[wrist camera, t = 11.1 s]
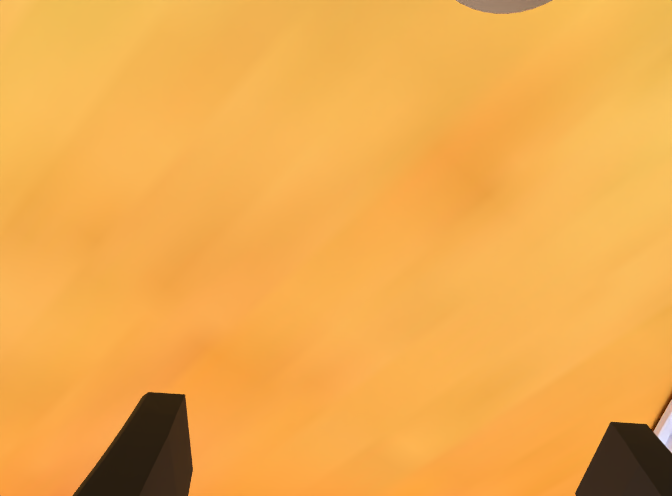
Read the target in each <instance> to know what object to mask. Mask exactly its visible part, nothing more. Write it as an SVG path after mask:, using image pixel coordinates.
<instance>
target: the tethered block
mask: <svg viewBox="0 0 672 496" xmlns="http://www.w3.org/2000/svg"><path fill="white" fill-rule="evenodd" d="M456 1H458V2H459V3H461V4H463V5H465V6H468V7H470V8H472V9H475V10H479V11H482V12H488V13H495V14H509V13H516V12H522V11H526V10H530V9H534V8H536V7H539V6H541V5H544V4H546V3H548V2H550V1H552V0H456Z"/></svg>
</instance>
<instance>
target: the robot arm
mask: <svg viewBox="0 0 672 496" xmlns="http://www.w3.org/2000/svg"><path fill="white" fill-rule="evenodd" d="M192 471H193V467H192V457H191V447H190V438H189V428H188V419H187V409H186V399H185V395H184V394H168V393H152V392H148V393H147V394H145V395H144V396H142V398H141V400H140V401H139V403H138V404H137V406H136V408H135V409H134V411H133V412H132V414H131V415H130V417H129V418H128V420H127V421H126V423H125V424H124V426H123V427H122V429H121V430H120V432H119V433H118V435H117V436H116V437H115V439H114V440H113V442H112V443H111V445H110V446H109V447H108V449H107V450H106V452H105V453H104V454H103V456H102V457H101V459H100V460H99V461H98V463H97V464H96V466H95V467H94V468H93V470H92V471H91V472H90V473H89V475H88V476H87V477H86V479H85V480H84V481H83V483H82V484H81V485H80V487H79V488H78V489H77V490H76V492H75V493H74V494H73V496H188V493H189V488H190V482H191V477H192ZM575 494H576V496H672V400H671V401H670V403H669V405H668V407H667V409H666V410H665V412H664V414H663V416H662V417H661V419H660V421H659V423H658V424H657V426H656V428H655V430H654V431H652V430H651V429H650V428H649V427H648V426H647V424H635V423H620V422H611V423H610V425H609V427H608V429H607V431H606V433H605V435H604V437H603V439H602V441H601V443H600V445H599V447H598V449H597V451H596V453H595V455H594V457H593V459H592V461H591V463H590V465H589V467H588V469H587V471H586V473H585V475H584V477H583V479H582V481H581V483H580V485H579V487H578V489H577V491H576V493H575Z"/></svg>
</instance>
